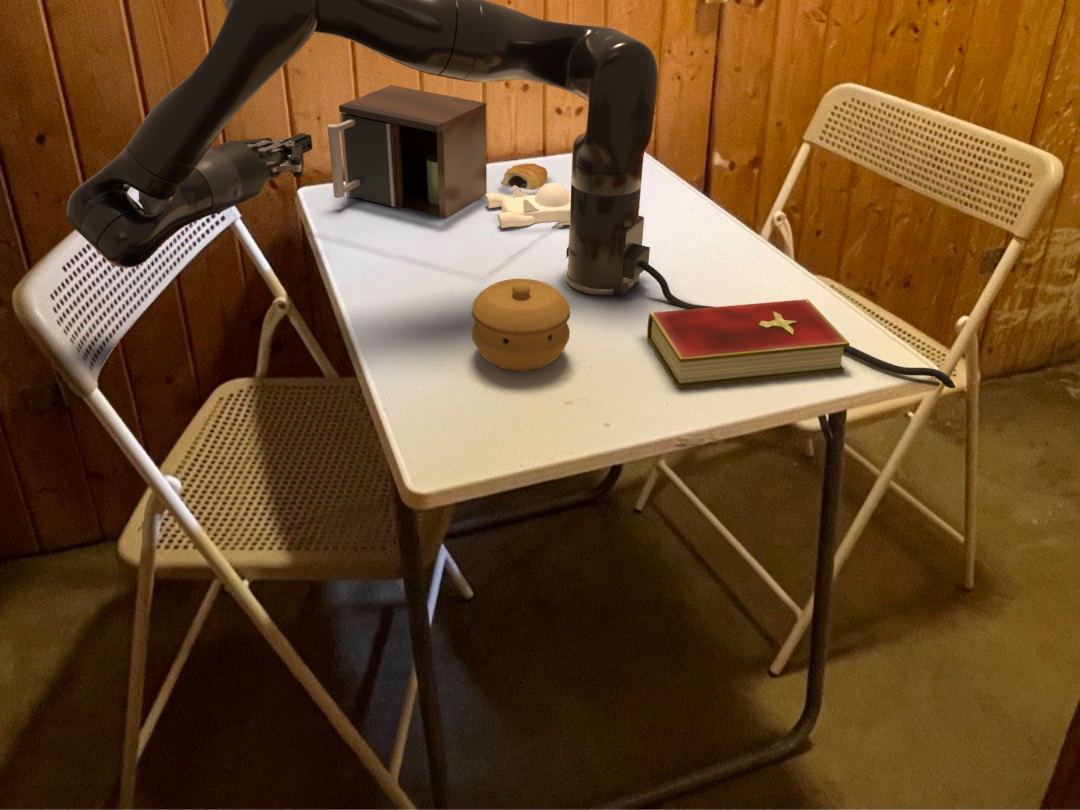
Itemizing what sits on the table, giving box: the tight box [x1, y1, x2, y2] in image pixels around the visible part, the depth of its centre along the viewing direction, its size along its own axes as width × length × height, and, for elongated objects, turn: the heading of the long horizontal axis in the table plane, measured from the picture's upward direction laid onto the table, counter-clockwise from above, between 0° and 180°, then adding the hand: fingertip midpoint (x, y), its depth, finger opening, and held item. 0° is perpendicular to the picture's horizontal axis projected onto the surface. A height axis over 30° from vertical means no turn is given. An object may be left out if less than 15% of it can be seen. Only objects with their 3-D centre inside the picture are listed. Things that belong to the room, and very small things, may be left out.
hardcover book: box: [646, 298, 851, 390], centre depth 123 cm, size 12×21×4 cm, turn 102°
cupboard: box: [338, 84, 488, 220], centre depth 159 cm, size 13×18×16 cm
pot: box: [470, 278, 571, 372], centre depth 120 cm, size 12×12×10 cm
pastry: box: [500, 163, 548, 191], centre depth 170 cm, size 9×7×4 cm
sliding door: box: [327, 112, 397, 208], centre depth 154 cm, size 6×9×13 cm, turn 61°
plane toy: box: [484, 182, 571, 229], centre depth 157 cm, size 10×20×6 cm, turn 106°
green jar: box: [426, 153, 439, 205], centre depth 160 cm, size 5×5×7 cm
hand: (307, 140), depth 140 cm, fingers closed
